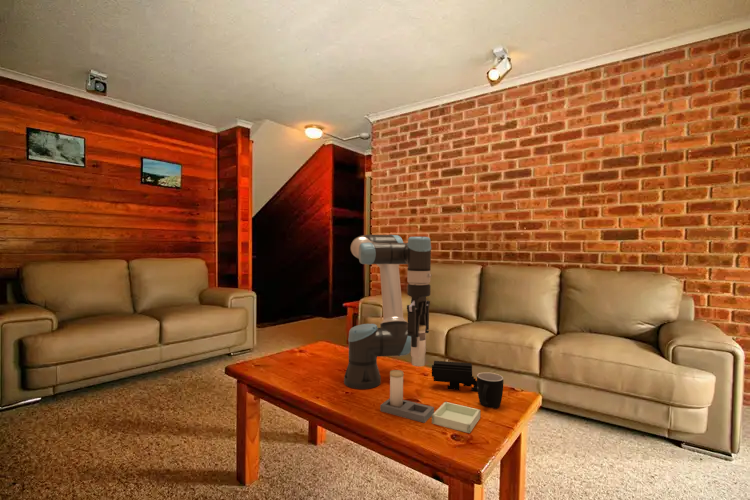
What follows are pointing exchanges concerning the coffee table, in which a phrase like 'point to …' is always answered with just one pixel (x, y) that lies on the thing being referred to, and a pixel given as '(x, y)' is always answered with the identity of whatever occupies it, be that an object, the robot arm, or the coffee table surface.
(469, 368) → the security camera
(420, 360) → the fuse
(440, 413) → the parts tray
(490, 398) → the mug
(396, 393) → the block
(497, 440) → the coffee table surface
